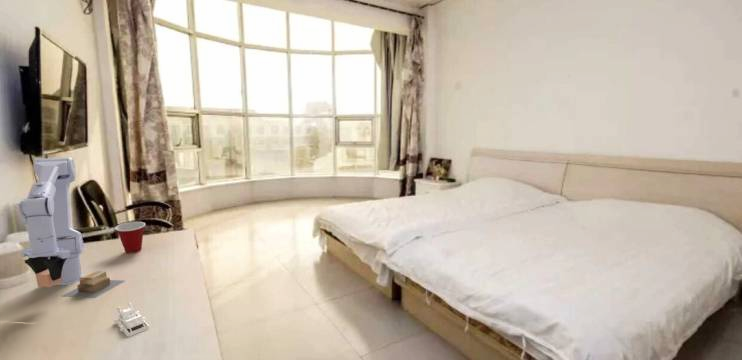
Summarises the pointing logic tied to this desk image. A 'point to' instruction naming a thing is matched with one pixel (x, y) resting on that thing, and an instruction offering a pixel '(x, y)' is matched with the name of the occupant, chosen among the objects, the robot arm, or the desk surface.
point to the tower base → (94, 286)
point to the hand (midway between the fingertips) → (49, 278)
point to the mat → (93, 295)
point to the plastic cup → (131, 236)
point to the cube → (46, 279)
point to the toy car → (130, 320)
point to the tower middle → (92, 277)
